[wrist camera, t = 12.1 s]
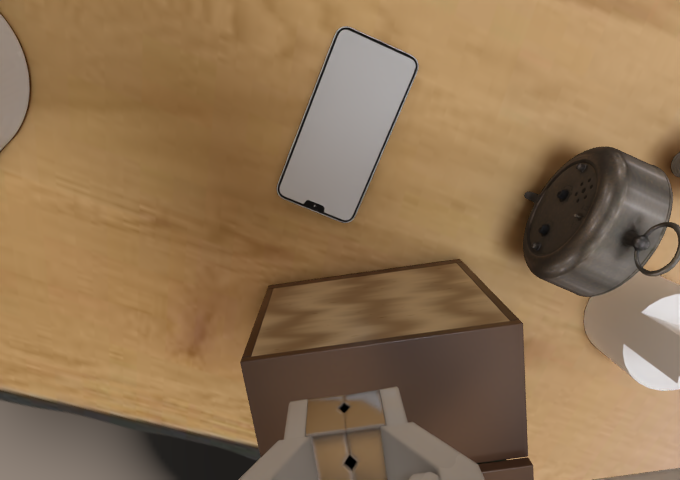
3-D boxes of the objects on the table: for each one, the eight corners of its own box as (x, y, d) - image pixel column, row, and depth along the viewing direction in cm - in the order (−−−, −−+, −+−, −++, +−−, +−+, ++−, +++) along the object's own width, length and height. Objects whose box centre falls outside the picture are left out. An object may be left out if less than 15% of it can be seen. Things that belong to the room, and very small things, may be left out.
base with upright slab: (567, 340, 44) (653, 417, 33) (611, 257, 42) (718, 308, 31) (647, 367, 45) (757, 451, 34) (693, 287, 43) (827, 347, 32)
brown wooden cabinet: (289, 395, 45) (270, 522, 31) (268, 285, 42) (237, 368, 28) (468, 371, 45) (534, 487, 31) (460, 258, 42) (528, 328, 28)
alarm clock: (540, 268, 42) (665, 354, 27) (490, 246, 42) (587, 321, 26) (601, 160, 40) (779, 183, 24) (549, 135, 39) (696, 143, 24)
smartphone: (423, 60, 37) (351, 226, 40) (421, 61, 38) (351, 225, 41) (339, 21, 36) (272, 195, 39) (338, 23, 37) (273, 193, 40)
